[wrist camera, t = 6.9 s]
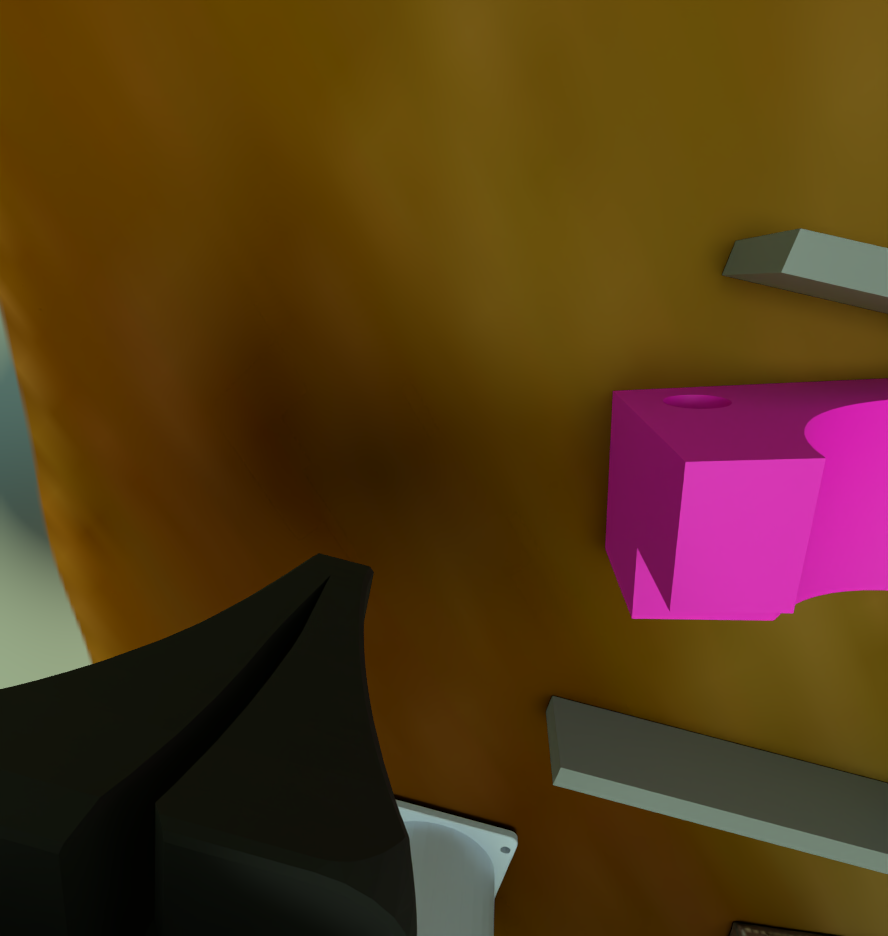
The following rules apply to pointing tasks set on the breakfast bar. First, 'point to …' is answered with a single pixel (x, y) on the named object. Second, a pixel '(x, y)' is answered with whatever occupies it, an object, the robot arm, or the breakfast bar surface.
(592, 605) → the breakfast bar surface
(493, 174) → the breakfast bar surface
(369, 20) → the breakfast bar surface
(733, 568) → the toy block
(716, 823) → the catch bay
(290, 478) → the breakfast bar surface
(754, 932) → the letter holder
